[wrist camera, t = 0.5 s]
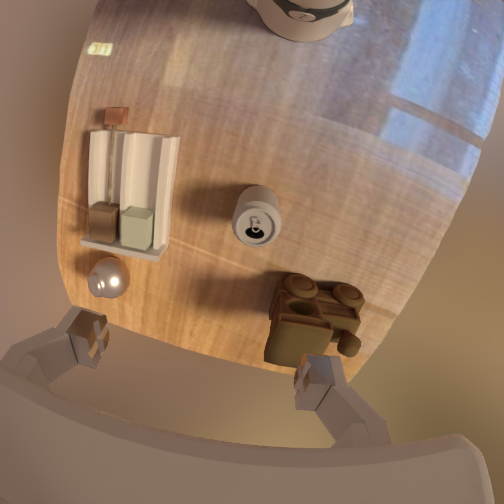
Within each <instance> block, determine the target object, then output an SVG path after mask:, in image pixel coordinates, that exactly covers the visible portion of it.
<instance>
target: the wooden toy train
mask: <svg viewBox="0 0 504 504" xmlns="http://www.w3.org/2000/svg"><path fill="white" fill-rule="evenodd" d="M364 302H365V300H364V298H363V294H362V293H361V291H360V290H358V289H357V288H356V287H354V286H352V285H349V284H344V283H342V284H338V285H336V286H334V288H333V291H332V292H331V291H326V290H320V289H318V287H317V285H316V283H315V282H314V281H313V280H312V279H311V278H309V277H307V276H304V275H301V274H292V275H289V276H288V277H287V278H286V279H284V282H280V281H278V284H277V287H276V290H275V294H274V297H273V300H272V303H271V306H270V309H269V320H271V326H270V334H269V337H268V339H267V343H266V346H265V350H264V361H265V362H268V363H271V364H275V365H279V366H286V367H294V368H297V367H298V366H299V365H301V358H302V356H303V354H304V353H306V354H317V355H323V354H324V352H325V351H326V349H327V347H328V345H329V342H335V343H338V345H337V350H338V351H339V352H340V353H341V354H343V355H345V356H347V357H353V356H355V355H356V354H357V353H358V351H359V349H360V347H361V341H360V339H359V338H358V337H356V336H355V333H356V331H357V330H358V327H359V325H360V323H361V321H360V316H359V312H360V310H361V308H362V306H363V304H364Z"/></svg>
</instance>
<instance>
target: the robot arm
mask: <svg viewBox="0 0 504 504" xmlns="http://www.w3.org/2000/svg"><path fill="white" fill-rule="evenodd" d="M246 1H247V3H248V4H249V5H250V6H252V7H253V8H254V9H256V10H257V11H258V13H259V14H260V16H261V18H262V20H263V22H264V23H265V24H266V26H267V27H268V28H269V29H271V30H272V31H273V32H274V33H276V34H278V35H279V36H281V37H284V38H286V39H289V40H293V41H299V42H311V41H317V40H320V39H323V38H325V37H327V36H328V35H330V34H331V33H332V32H334V31H335V30H337V29H339V28H344V27H348V26H350V25H351V24H352V23H353V4H352V0H246ZM106 323H107V318H106V315H104V314H101V313H98V312H95V311H92V310H89V309H86V308H82V307H79V306H76V305H75V306H72V307H71V309H70V310H69V311H68V313H67V314H66V315H65V317H64V318H63V319H62V321H61V322H60V323H59V324H58V326H57V327H56V328H51V329H48V330H46V331H44V332H41V333H39V334H37V335H34V336H32V337H30V338H28V339H25V340H23V341H21V342H18V343H16V344H14V345H12V346H11V347H10V349H9V350H8V351H7V353H6V354H5V355H4V357H3V358H2V360H1V361H0V504H495V503H494V497H493V491H492V487H491V482H490V478H489V474H488V470H487V467H486V463H485V460H484V457H483V455H482V453H481V451H480V450H479V449H478V448H477V447H476V446H475V445H473V444H472V443H471V442H470V441H469V440H467V439H466V438H465V437H464V436H462V435H461V434H452V435H447V436H442V437H437V438H432V439H426V440H420V441H414V442H407V443H399V444H391V441H390V436H389V433H388V429H387V425H386V421H385V420H384V419H383V418H382V417H381V416H380V415H379V414H378V413H377V412H376V411H375V410H374V409H373V408H372V407H371V406H370V405H369V404H368V403H367V402H366V401H365V400H364V399H363V398H362V397H361V396H360V395H359V394H358V393H357V392H356V391H355V390H354V389H353V388H352V387H351V386H347V382H346V378H345V374H344V370H343V366H342V361H341V358H340V357H339V356H327V355H317V354H306V353H304V354H303V356H302V358H301V365H299V366H298V367H297V369H296V372H295V376H294V388H295V389H296V391H297V393H296V395H295V407H296V409H298V410H310V411H315V412H316V414H317V415H318V417H319V418H320V420H321V421H322V423H323V424H324V425H325V427H326V428H327V430H328V431H329V432H330V434H331V435H332V437H333V438H334V439H335V440H336V442H335V444H334V445H333V446H332V447H331V448H323V449H322V448H321V449H320V448H315V449H314V448H284V447H270V446H258V445H249V444H239V443H232V442H225V441H218V440H212V439H206V438H201V437H195V436H190V435H185V434H180V433H175V432H171V431H167V430H163V429H159V428H155V427H151V426H147V425H144V424H140V423H137V422H133V421H130V420H126V419H123V418H120V417H117V416H114V415H111V414H108V413H105V412H102V411H99V410H96V409H94V408H91V407H88V406H85V405H83V404H80V403H78V402H75V401H73V400H71V399H68V398H66V397H63V396H61V395H59V394H57V393H54V392H52V391H51V389H50V387H49V385H48V384H49V383H51V382H52V381H54V380H55V379H57V378H58V377H60V376H61V375H63V374H64V373H66V372H67V371H69V370H70V369H72V368H73V367H75V366H76V365H78V364H81V365H84V366H87V367H90V368H94V369H95V368H96V366H97V364H98V362H99V360H100V358H101V357H100V353H101V352H103V351H104V350H105V349H106V347H107V345H108V341H109V330H108V328H107V327H106V326H105V325H106Z"/></svg>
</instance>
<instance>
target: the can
mask: <svg viewBox="0 0 504 504" xmlns="http://www.w3.org/2000/svg"><path fill="white" fill-rule="evenodd" d="M232 228H233V231H234V234H235V235H236V237H237V238H238V239H239V240H240V241H241V242H243V243H244V244H246V245H248V246H251V247H261V246H265V245H267V244H269V243H271V242H272V241H273V240H274V239H275V238H276V237H277V236H278V234H279V232H280V230H281V217H280V210H279V204H278V199H277V197H276V195H275V194H274V192H273V191H271V190H270V189H269V188H267V187H264V186H257V185H255V186H251V187H248V188H247V189H245V190H244V191H243V192H242V193H241V194H240V196H239V198H238V201H237V204H236V208H235V211H234V215H233V218H232Z"/></svg>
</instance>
